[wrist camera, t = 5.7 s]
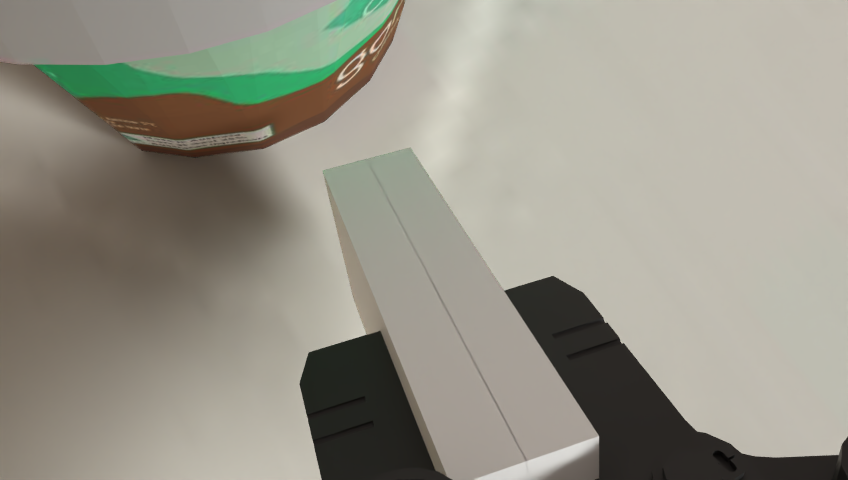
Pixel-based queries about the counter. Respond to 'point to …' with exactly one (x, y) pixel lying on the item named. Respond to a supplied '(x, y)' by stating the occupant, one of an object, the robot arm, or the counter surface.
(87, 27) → the food container
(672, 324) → the counter surface
